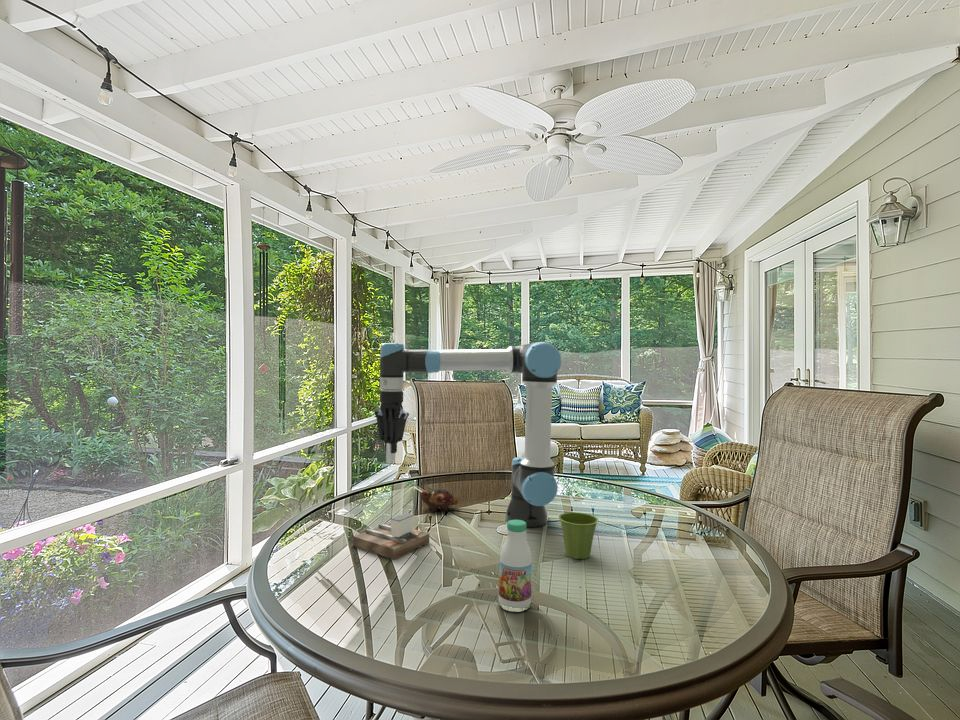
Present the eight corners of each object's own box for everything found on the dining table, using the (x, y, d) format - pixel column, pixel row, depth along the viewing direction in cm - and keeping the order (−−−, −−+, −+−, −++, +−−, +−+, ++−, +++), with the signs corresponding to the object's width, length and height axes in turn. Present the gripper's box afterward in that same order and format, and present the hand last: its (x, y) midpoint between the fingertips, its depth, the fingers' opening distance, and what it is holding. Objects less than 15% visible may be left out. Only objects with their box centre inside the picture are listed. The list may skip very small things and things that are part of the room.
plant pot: (599, 550, 153) (600, 514, 153) (595, 565, 141) (596, 526, 141) (561, 545, 157) (562, 509, 156) (554, 559, 145) (555, 521, 145)
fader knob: (413, 535, 153) (414, 514, 153) (398, 542, 147) (398, 520, 147) (406, 533, 155) (406, 512, 155) (390, 539, 149) (391, 518, 149)
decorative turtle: (415, 508, 190) (417, 487, 191) (452, 506, 197) (453, 486, 197) (424, 514, 182) (425, 492, 182) (461, 512, 188) (463, 491, 189)
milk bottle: (496, 597, 121) (498, 516, 121) (527, 597, 122) (529, 516, 122) (500, 614, 113) (502, 527, 113) (533, 613, 114) (536, 527, 114)
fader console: (429, 542, 156) (429, 530, 155) (394, 559, 142) (394, 545, 142) (389, 531, 165) (389, 519, 165) (353, 546, 151) (353, 533, 151)
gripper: (368, 390, 160) (367, 462, 160) (399, 392, 154) (398, 467, 154) (384, 388, 167) (383, 458, 167) (414, 390, 160) (413, 463, 160)
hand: (390, 462), depth 160 cm, fingers closed
